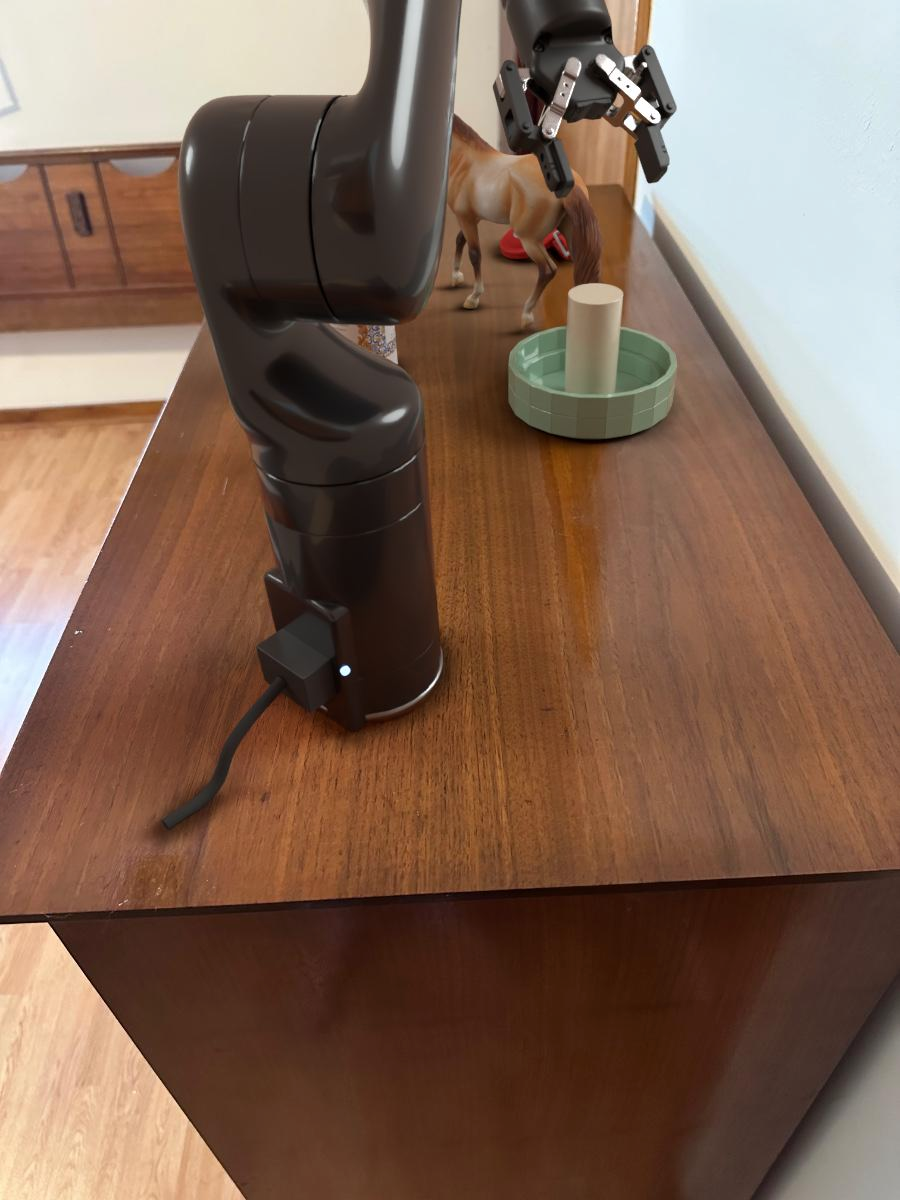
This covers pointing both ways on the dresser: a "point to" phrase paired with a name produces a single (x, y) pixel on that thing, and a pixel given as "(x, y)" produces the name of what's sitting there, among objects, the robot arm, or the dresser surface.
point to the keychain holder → (515, 250)
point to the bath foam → (372, 338)
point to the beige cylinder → (592, 339)
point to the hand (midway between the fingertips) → (613, 185)
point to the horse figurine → (517, 213)
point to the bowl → (591, 416)
